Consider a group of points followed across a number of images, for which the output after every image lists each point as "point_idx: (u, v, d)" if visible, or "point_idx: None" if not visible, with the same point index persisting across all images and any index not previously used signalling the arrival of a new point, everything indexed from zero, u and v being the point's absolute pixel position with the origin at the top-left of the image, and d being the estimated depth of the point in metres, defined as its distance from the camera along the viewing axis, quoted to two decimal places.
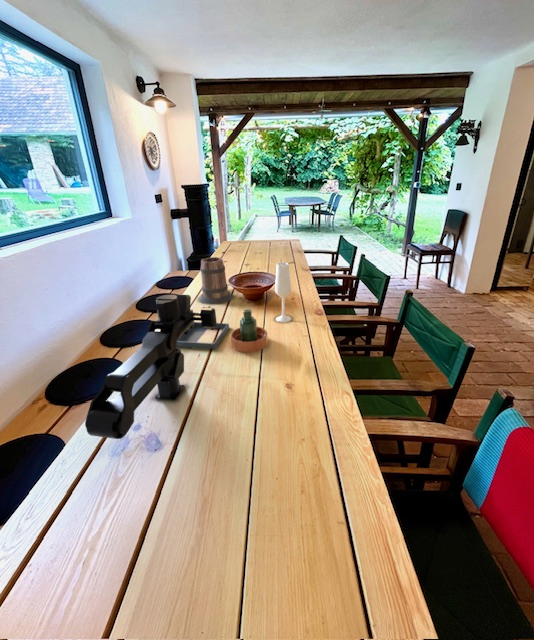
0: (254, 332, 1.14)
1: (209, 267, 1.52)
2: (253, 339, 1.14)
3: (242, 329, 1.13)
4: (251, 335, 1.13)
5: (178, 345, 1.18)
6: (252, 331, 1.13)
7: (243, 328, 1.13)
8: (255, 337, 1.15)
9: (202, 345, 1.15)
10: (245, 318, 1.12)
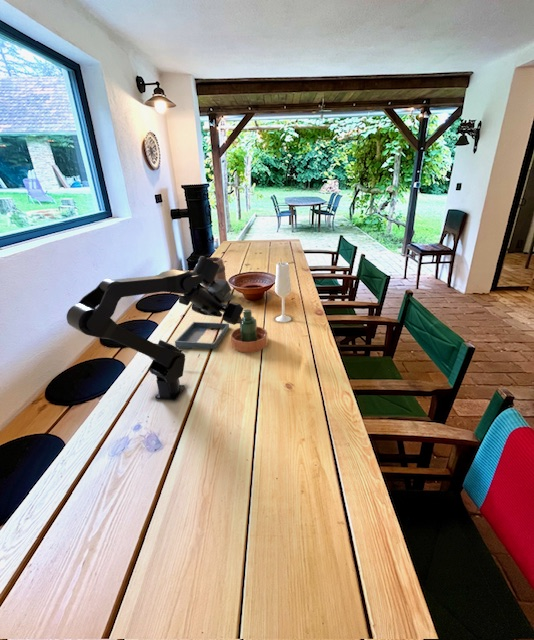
0: (254, 332, 1.14)
1: None
2: (253, 339, 1.14)
3: (242, 329, 1.13)
4: (251, 335, 1.13)
5: (178, 345, 1.18)
6: (252, 331, 1.13)
7: (243, 328, 1.13)
8: (255, 337, 1.15)
9: (202, 345, 1.15)
10: (245, 318, 1.12)
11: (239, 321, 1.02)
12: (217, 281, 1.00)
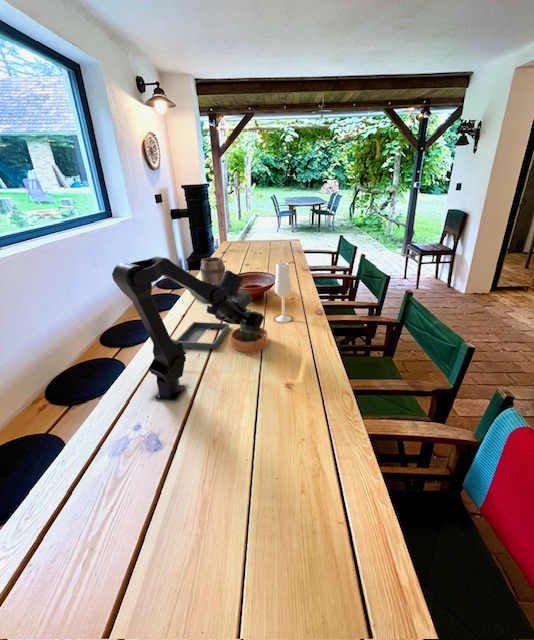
0: (254, 332, 1.14)
1: (209, 267, 1.52)
2: (253, 339, 1.14)
3: (242, 329, 1.13)
4: (251, 335, 1.13)
5: None
6: (252, 331, 1.13)
7: (243, 328, 1.13)
8: (255, 337, 1.15)
9: (202, 345, 1.15)
10: None
11: None
12: (239, 292, 1.09)
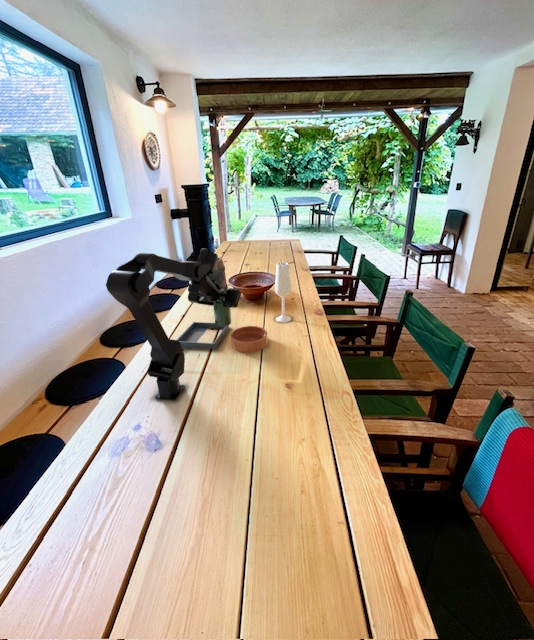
0: (229, 310, 1.16)
1: None
2: (228, 317, 1.17)
3: (217, 308, 1.14)
4: (226, 313, 1.16)
5: None
6: (227, 309, 1.15)
7: (218, 308, 1.14)
8: (229, 315, 1.18)
9: (202, 345, 1.15)
10: None
11: None
12: None
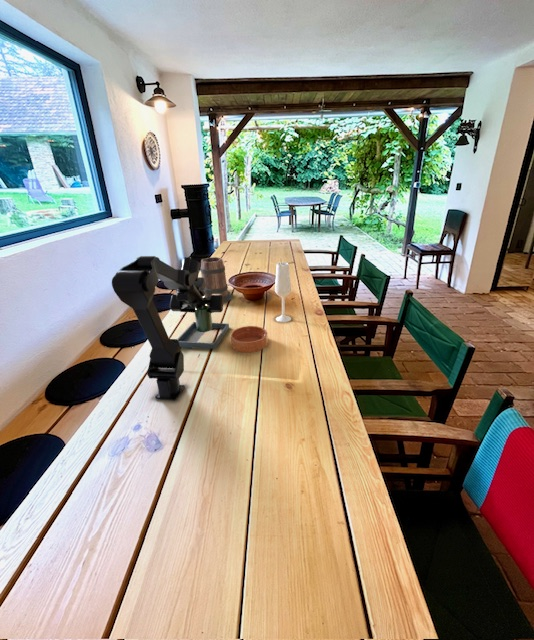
0: (210, 316, 1.20)
1: (209, 267, 1.52)
2: (210, 323, 1.20)
3: (199, 315, 1.17)
4: (209, 319, 1.19)
5: None
6: (209, 315, 1.18)
7: (200, 314, 1.17)
8: (211, 321, 1.21)
9: (202, 345, 1.15)
10: None
11: None
12: None
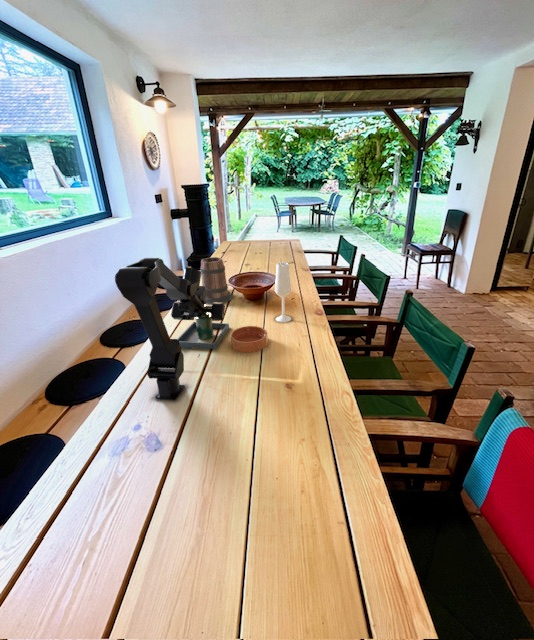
0: (211, 324, 1.21)
1: (209, 267, 1.52)
2: (211, 331, 1.22)
3: (201, 324, 1.18)
4: (210, 328, 1.20)
5: None
6: (210, 324, 1.20)
7: (201, 323, 1.18)
8: (212, 329, 1.22)
9: (202, 345, 1.15)
10: None
11: None
12: None
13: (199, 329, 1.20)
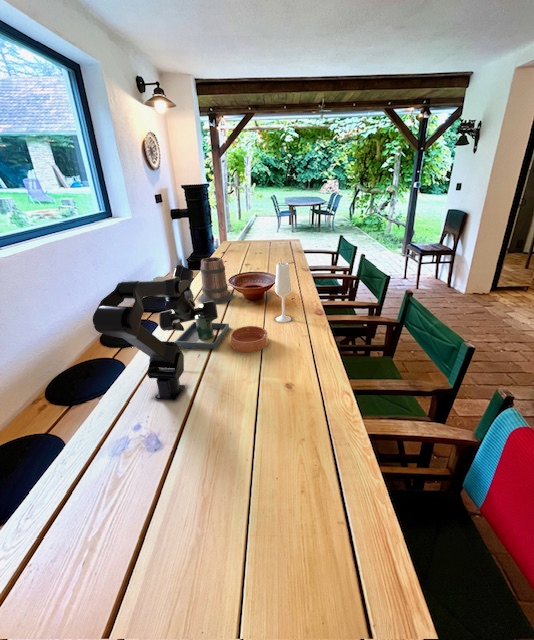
0: (211, 324, 1.21)
1: (209, 267, 1.52)
2: (211, 331, 1.22)
3: (201, 324, 1.18)
4: (210, 328, 1.20)
5: (178, 345, 1.18)
6: (210, 324, 1.20)
7: (201, 323, 1.18)
8: (212, 329, 1.22)
9: (202, 345, 1.15)
10: None
11: None
12: None
13: (199, 329, 1.20)
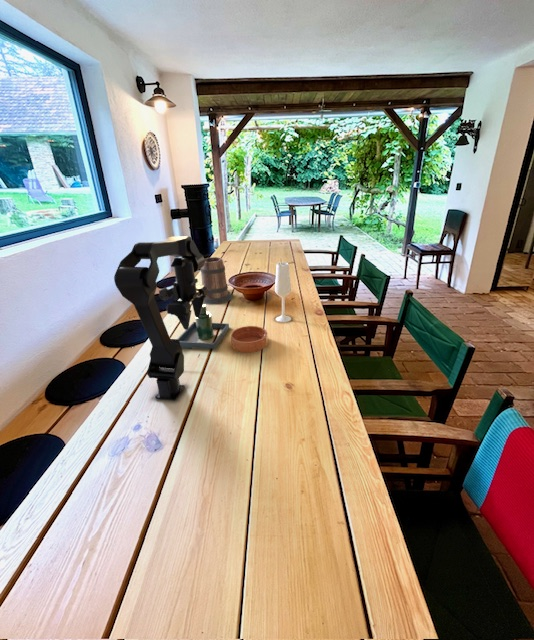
0: (211, 324, 1.21)
1: (209, 267, 1.52)
2: (211, 331, 1.22)
3: (201, 324, 1.18)
4: (210, 328, 1.20)
5: None
6: (210, 324, 1.20)
7: (201, 323, 1.18)
8: (212, 329, 1.22)
9: (202, 345, 1.15)
10: (202, 313, 1.18)
11: None
12: None
13: (199, 329, 1.20)
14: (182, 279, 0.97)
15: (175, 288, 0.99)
